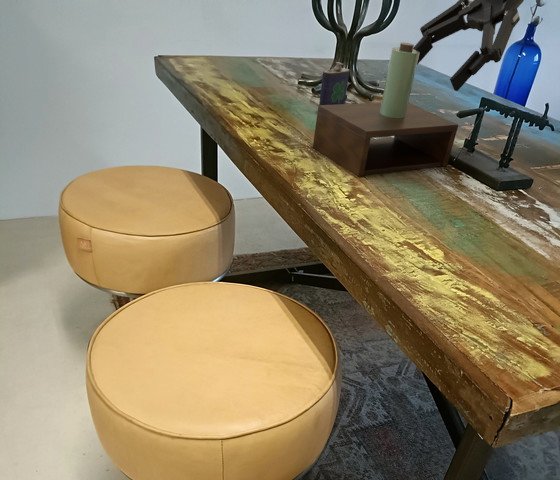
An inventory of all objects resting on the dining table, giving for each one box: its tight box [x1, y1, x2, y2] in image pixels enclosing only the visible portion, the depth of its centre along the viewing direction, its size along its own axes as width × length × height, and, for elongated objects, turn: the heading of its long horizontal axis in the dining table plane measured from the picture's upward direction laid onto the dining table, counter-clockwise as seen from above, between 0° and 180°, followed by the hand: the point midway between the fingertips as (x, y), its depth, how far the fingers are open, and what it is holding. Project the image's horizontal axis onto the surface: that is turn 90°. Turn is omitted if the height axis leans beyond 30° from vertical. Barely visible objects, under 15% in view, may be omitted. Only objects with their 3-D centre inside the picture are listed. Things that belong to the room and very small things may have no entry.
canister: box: [379, 42, 420, 118], centre depth 105 cm, size 5×5×12 cm
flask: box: [318, 61, 351, 105], centre depth 133 cm, size 9×3×11 cm, turn 140°
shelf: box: [312, 101, 459, 178], centre depth 111 cm, size 16×22×8 cm
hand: (428, 76), depth 108 cm, fingers open, 13 cm apart
